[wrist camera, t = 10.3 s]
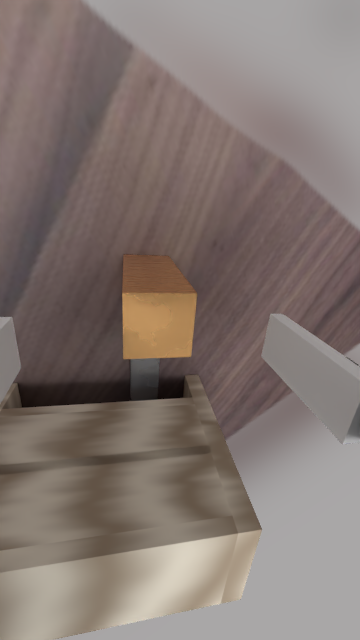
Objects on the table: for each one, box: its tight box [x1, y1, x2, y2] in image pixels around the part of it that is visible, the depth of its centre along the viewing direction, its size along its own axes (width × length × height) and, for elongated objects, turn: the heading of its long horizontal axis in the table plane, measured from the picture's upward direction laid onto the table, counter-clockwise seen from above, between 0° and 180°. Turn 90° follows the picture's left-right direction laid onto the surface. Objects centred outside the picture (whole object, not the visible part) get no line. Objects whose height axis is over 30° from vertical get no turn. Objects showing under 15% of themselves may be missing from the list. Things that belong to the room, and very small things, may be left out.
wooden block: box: [122, 254, 197, 401], centre depth 23 cm, size 4×18×11 cm, turn 176°
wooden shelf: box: [0, 375, 262, 640], centre depth 23 cm, size 20×8×16 cm, turn 86°
